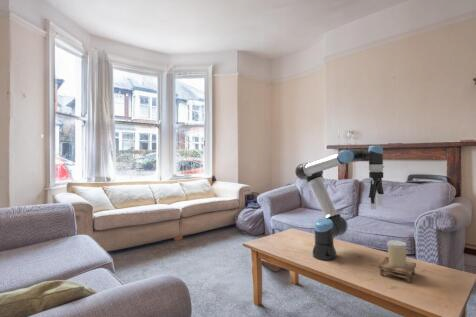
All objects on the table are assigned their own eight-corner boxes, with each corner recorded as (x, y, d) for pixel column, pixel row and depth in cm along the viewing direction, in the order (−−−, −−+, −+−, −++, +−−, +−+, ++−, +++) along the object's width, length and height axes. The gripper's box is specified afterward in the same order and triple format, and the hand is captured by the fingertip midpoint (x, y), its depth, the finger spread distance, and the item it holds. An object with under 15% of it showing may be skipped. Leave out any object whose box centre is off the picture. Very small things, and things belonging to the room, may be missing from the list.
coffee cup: (403, 261, 150) (402, 240, 149) (410, 268, 140) (409, 246, 140) (385, 260, 151) (384, 239, 151) (391, 267, 142) (390, 245, 142)
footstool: (378, 275, 146) (378, 265, 145) (385, 265, 157) (385, 256, 157) (410, 283, 136) (410, 273, 135) (416, 273, 147) (415, 263, 146)
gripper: (376, 173, 146) (377, 211, 147) (388, 169, 165) (389, 203, 165) (362, 173, 152) (363, 209, 152) (375, 169, 170) (376, 202, 171)
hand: (376, 206), depth 159 cm, fingers open, 13 cm apart
